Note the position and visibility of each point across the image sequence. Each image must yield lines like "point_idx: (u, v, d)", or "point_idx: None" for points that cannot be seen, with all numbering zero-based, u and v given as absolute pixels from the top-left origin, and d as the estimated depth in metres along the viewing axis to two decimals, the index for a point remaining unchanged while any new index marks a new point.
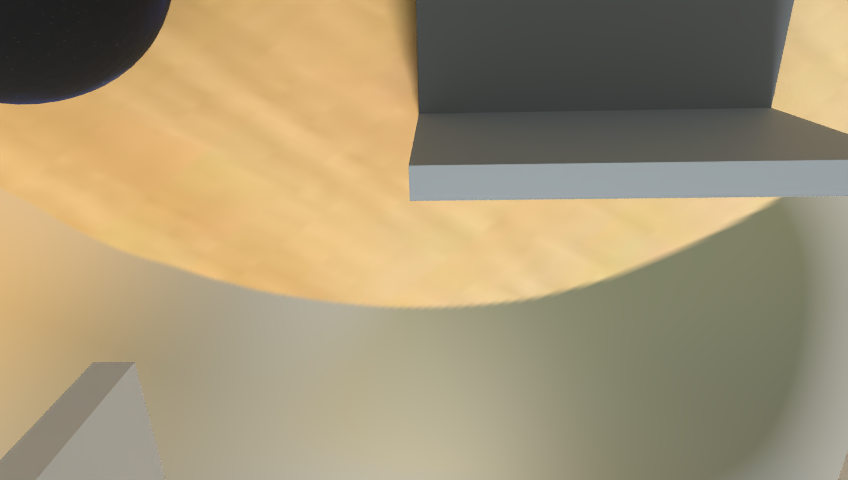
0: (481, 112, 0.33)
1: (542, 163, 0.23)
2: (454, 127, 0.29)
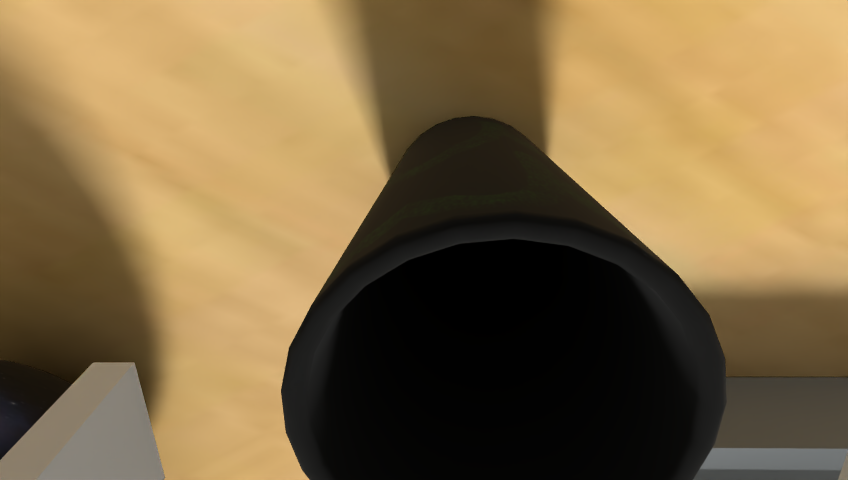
0: None
1: None
2: None
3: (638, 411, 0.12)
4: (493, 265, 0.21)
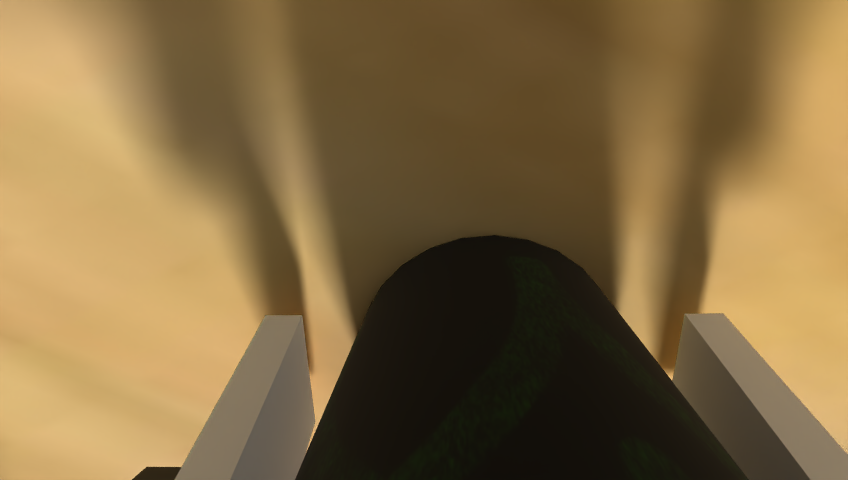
0: None
1: None
2: None
3: None
4: None
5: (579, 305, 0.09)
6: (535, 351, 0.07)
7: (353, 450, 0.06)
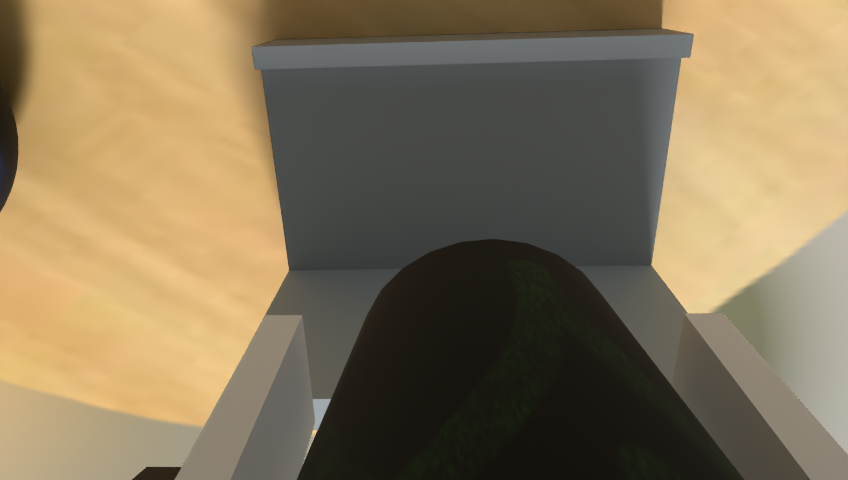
0: (353, 269, 0.32)
1: None
2: (309, 305, 0.28)
3: None
4: None
5: (579, 309, 0.09)
6: (534, 356, 0.07)
7: (352, 456, 0.06)
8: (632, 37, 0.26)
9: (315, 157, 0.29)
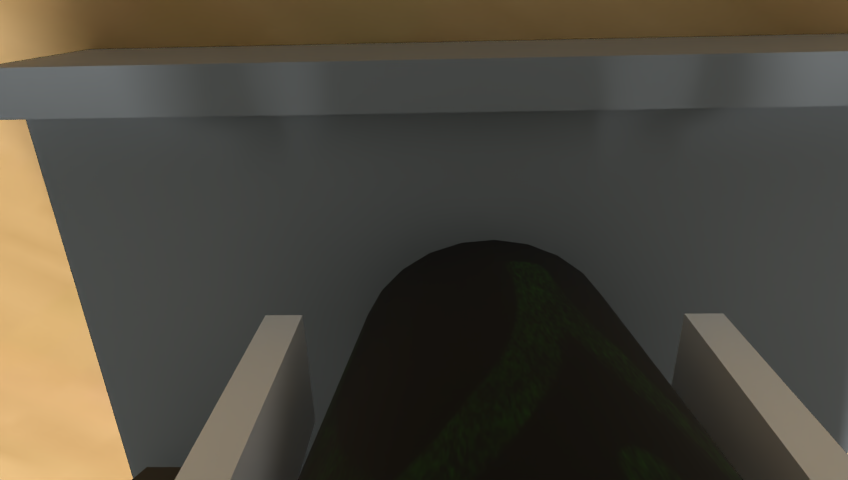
0: None
1: None
2: None
3: None
4: None
5: (579, 311, 0.09)
6: (535, 358, 0.07)
7: (353, 458, 0.06)
8: None
9: (163, 294, 0.14)
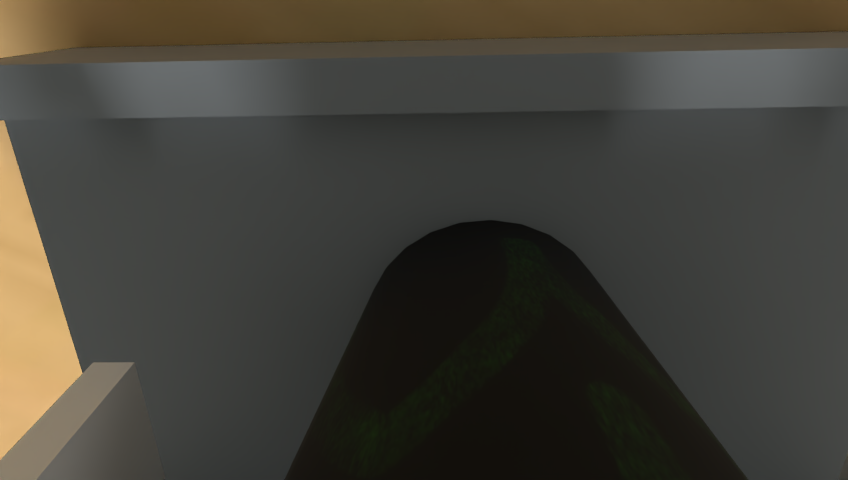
0: None
1: None
2: None
3: None
4: None
5: (564, 279, 0.10)
6: (520, 314, 0.08)
7: (359, 396, 0.07)
8: None
9: (151, 304, 0.13)
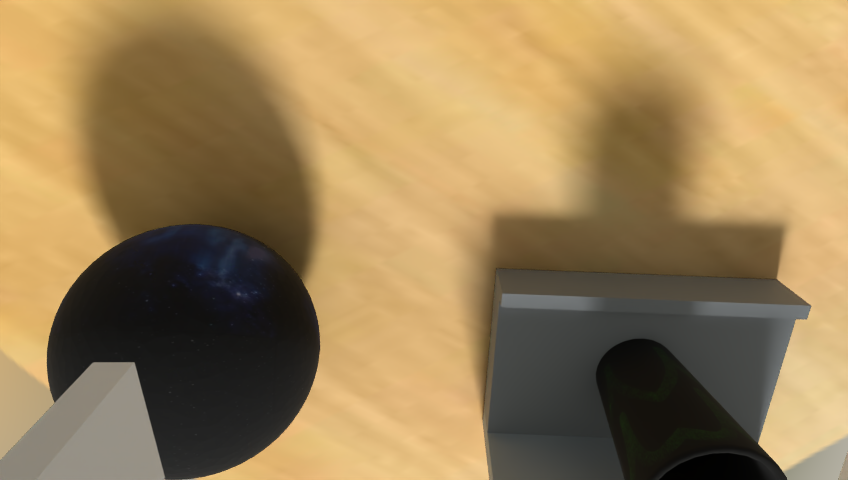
0: (536, 435, 0.42)
1: None
2: (521, 472, 0.39)
3: None
4: None
5: (675, 362, 0.37)
6: (672, 372, 0.35)
7: (642, 389, 0.34)
8: (769, 305, 0.37)
9: (524, 359, 0.40)
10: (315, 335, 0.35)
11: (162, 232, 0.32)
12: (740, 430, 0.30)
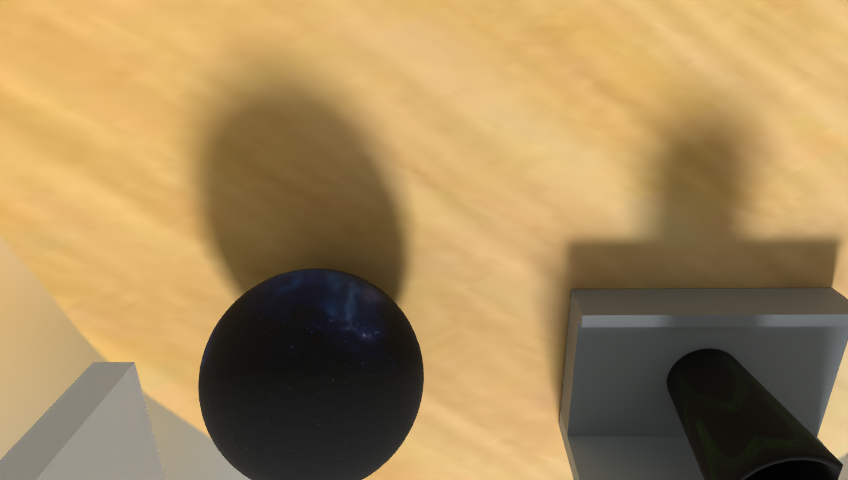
0: (612, 436, 0.47)
1: None
2: (603, 472, 0.43)
3: None
4: None
5: (743, 371, 0.40)
6: (742, 382, 0.39)
7: (716, 399, 0.38)
8: (828, 315, 0.41)
9: (601, 370, 0.44)
10: (421, 362, 0.39)
11: (288, 281, 0.37)
12: (811, 437, 0.34)
